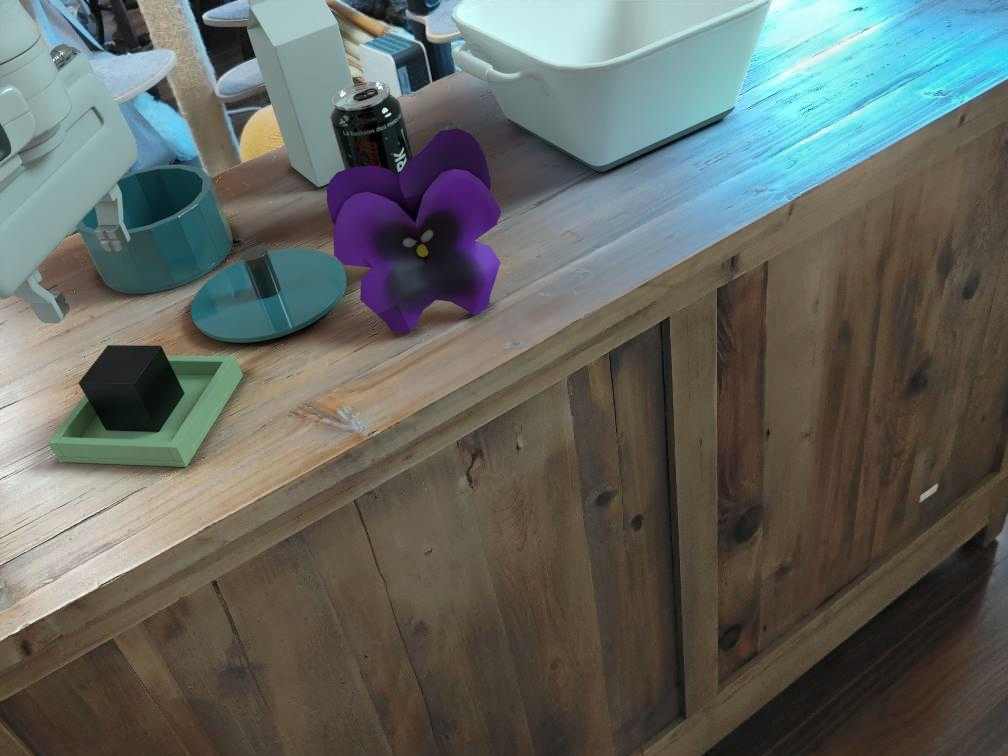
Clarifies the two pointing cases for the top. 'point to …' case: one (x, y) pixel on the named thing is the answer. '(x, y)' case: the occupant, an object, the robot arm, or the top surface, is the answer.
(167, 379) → the black block
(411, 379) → the top surface
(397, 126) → the beverage can
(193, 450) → the tray
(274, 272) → the pot lid
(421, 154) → the flower
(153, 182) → the cook pot
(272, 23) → the milk carton
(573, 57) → the tub
